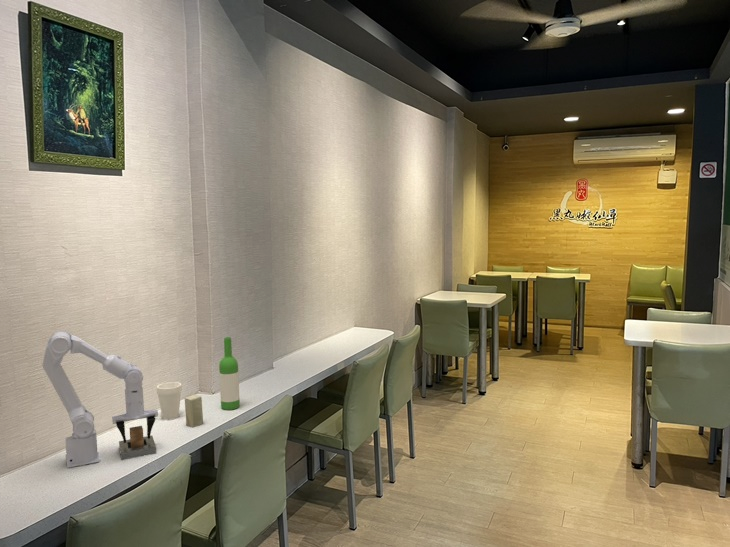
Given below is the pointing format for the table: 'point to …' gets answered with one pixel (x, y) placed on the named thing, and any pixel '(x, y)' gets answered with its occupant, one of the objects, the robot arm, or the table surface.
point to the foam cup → (169, 399)
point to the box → (193, 410)
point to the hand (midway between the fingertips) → (136, 439)
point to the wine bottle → (229, 378)
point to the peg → (136, 436)
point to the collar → (137, 448)
